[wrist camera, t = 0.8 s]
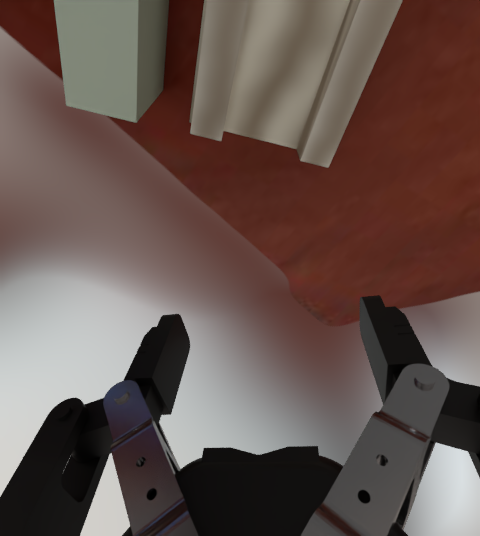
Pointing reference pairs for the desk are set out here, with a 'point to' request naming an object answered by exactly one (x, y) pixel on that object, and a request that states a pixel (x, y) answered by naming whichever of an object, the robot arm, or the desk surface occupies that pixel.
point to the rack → (286, 69)
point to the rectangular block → (112, 54)
